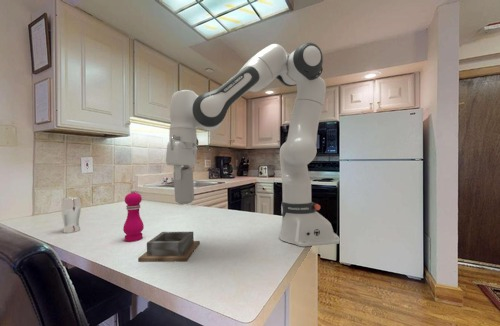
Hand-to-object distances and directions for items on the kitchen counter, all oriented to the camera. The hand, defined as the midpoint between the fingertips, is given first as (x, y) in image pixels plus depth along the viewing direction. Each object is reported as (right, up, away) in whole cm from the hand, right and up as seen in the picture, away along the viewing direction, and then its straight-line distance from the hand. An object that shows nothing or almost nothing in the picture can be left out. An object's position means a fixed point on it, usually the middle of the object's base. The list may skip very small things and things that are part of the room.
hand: (182, 178), depth 75 cm
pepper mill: (-23, -25, +13) cm, 37 cm away
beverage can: (0, -8, +2) cm, 9 cm away
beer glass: (-58, -26, +25) cm, 68 cm away
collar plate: (-3, -25, -1) cm, 25 cm away
